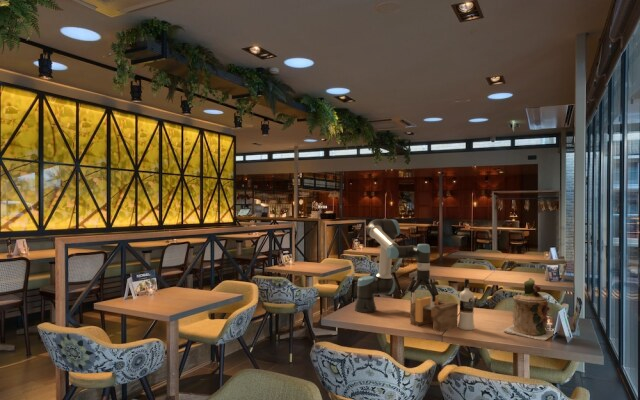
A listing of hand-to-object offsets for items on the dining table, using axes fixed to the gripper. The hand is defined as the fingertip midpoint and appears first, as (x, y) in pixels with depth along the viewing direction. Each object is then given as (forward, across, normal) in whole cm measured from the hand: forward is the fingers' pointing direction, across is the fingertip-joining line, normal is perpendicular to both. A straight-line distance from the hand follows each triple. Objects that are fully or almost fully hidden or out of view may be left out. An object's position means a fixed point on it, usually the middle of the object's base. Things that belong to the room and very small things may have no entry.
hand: (422, 305), depth 278 cm
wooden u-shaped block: (+9, 0, +5) cm, 10 cm away
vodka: (+14, +17, +21) cm, 31 cm away
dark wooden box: (+14, 0, +12) cm, 19 cm away
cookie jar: (+15, +46, +42) cm, 65 cm away
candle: (+14, -24, +29) cm, 40 cm away
